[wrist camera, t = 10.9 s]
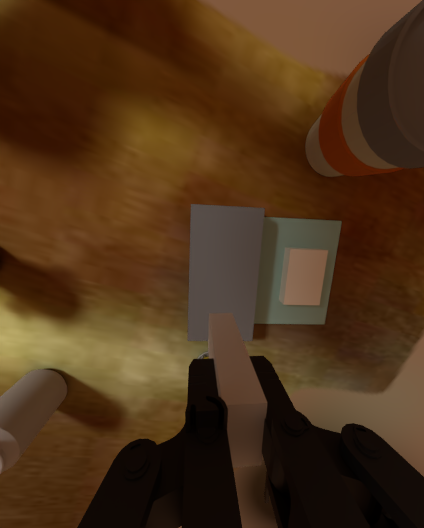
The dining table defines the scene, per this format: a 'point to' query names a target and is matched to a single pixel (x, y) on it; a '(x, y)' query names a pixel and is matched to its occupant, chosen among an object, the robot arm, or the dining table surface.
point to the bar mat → (271, 263)
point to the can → (27, 412)
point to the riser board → (223, 266)
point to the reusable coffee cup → (376, 109)
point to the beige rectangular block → (302, 276)
